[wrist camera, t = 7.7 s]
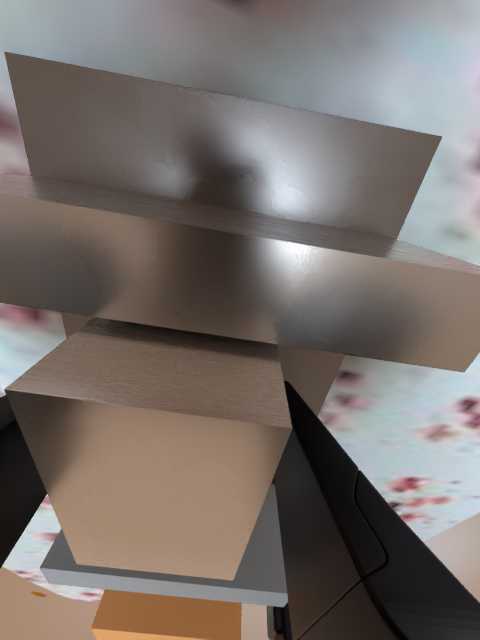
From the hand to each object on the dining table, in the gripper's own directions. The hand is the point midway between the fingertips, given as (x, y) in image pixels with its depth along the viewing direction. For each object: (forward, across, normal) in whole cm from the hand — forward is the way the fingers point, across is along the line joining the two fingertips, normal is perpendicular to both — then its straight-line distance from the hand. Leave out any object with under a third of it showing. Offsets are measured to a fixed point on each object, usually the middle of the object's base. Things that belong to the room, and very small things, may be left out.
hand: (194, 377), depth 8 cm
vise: (+4, 0, +4) cm, 5 cm away
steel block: (+3, 0, 0) cm, 3 cm away
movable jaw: (+3, 0, +17) cm, 18 cm away
